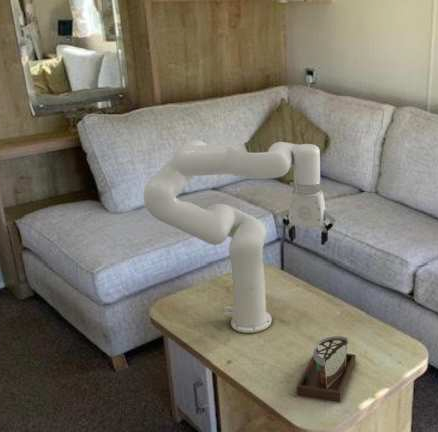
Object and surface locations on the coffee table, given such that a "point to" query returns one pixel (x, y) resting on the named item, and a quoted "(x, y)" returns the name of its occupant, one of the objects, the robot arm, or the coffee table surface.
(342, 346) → the lattice half-cylinder
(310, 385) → the tray
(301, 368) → the coffee table surface
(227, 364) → the coffee table surface
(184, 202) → the robot arm
